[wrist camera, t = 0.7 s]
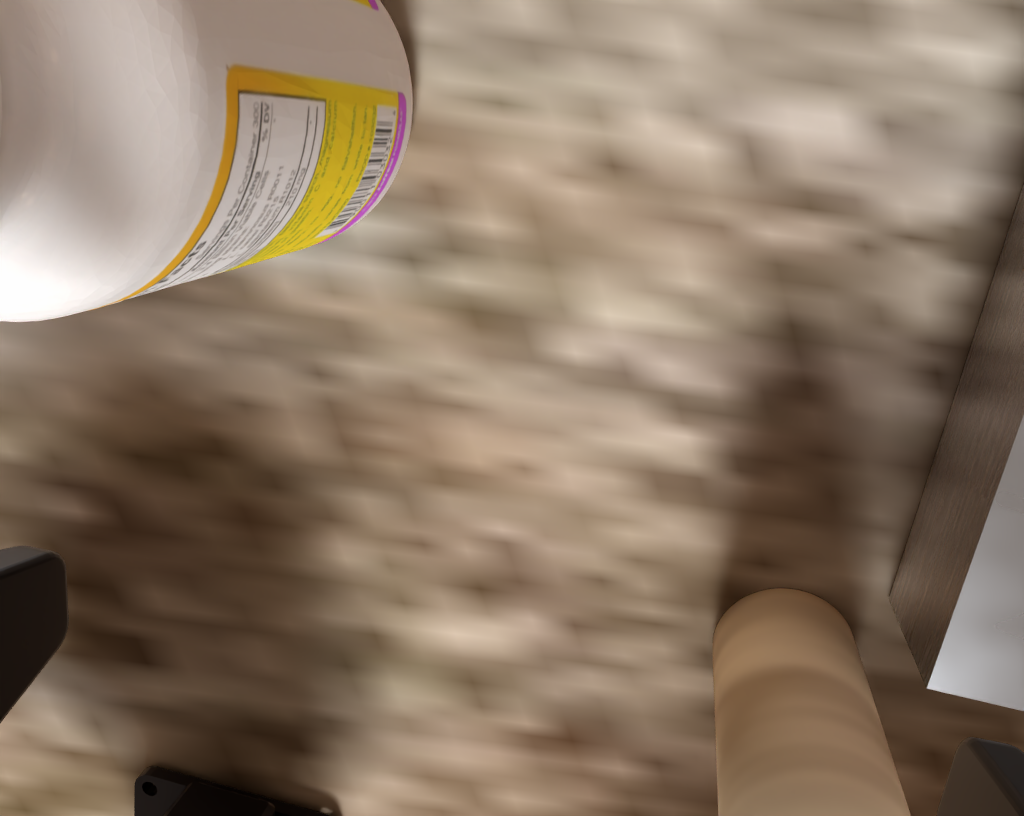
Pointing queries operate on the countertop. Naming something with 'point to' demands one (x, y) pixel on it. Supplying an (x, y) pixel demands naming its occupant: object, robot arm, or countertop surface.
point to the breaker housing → (975, 514)
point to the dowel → (797, 714)
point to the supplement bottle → (186, 139)
